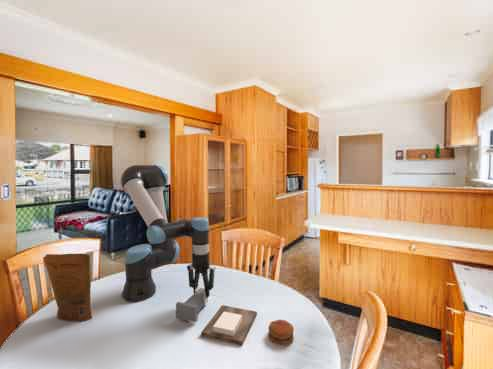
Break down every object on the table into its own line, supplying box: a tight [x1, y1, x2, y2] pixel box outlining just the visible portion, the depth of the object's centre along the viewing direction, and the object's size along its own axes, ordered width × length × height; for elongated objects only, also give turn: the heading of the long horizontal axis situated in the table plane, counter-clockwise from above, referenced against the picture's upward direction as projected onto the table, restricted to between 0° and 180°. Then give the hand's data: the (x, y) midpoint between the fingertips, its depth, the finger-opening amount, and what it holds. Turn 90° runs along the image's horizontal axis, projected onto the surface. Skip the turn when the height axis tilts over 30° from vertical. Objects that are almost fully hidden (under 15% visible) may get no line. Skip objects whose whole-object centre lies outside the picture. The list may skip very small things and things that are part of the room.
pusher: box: [175, 287, 205, 323], centre depth 107 cm, size 9×16×6 cm, turn 162°
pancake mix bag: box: [42, 253, 93, 323], centre depth 102 cm, size 7×19×28 cm, turn 82°
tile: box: [213, 312, 242, 336], centre depth 96 cm, size 8×2×10 cm
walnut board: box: [200, 304, 258, 346], centre depth 99 cm, size 16×19×2 cm
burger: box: [268, 319, 295, 346], centre depth 92 cm, size 10×9×5 cm
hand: (201, 302), depth 113 cm, fingers closed on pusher, 3 cm apart
